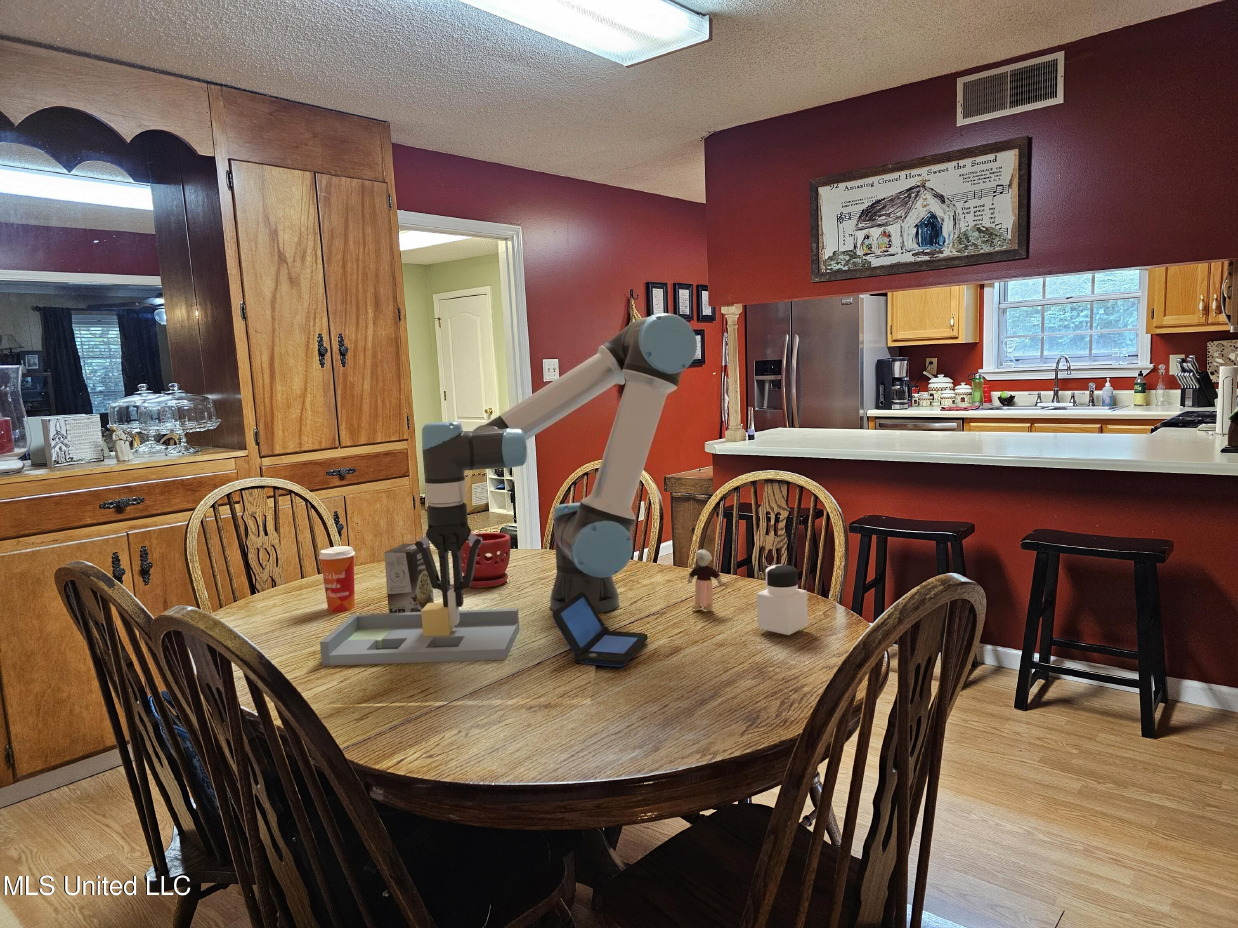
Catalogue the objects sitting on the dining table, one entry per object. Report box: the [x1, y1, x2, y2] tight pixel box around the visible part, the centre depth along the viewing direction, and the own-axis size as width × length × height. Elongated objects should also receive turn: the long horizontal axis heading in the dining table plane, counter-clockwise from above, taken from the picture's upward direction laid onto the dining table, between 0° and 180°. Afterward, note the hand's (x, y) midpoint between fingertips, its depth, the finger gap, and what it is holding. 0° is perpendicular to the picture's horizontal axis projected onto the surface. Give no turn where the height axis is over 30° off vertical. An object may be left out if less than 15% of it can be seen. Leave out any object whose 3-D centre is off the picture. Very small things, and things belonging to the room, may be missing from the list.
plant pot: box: [461, 532, 511, 589], centre depth 198 cm, size 13×13×12 cm
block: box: [421, 602, 455, 636], centre depth 156 cm, size 5×5×5 cm
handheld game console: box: [552, 592, 649, 667], centre depth 147 cm, size 16×13×9 cm
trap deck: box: [319, 608, 520, 667], centre depth 153 cm, size 34×16×4 cm, turn 88°
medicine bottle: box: [756, 564, 809, 636], centre depth 155 cm, size 7×7×12 cm
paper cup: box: [318, 545, 356, 613], centre depth 180 cm, size 8×8×14 cm
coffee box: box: [383, 542, 435, 613], centre depth 169 cm, size 9×6×16 cm
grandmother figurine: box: [686, 549, 724, 611], centre depth 169 cm, size 8×4×13 cm, turn 76°
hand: (454, 622), depth 155 cm, fingers closed
